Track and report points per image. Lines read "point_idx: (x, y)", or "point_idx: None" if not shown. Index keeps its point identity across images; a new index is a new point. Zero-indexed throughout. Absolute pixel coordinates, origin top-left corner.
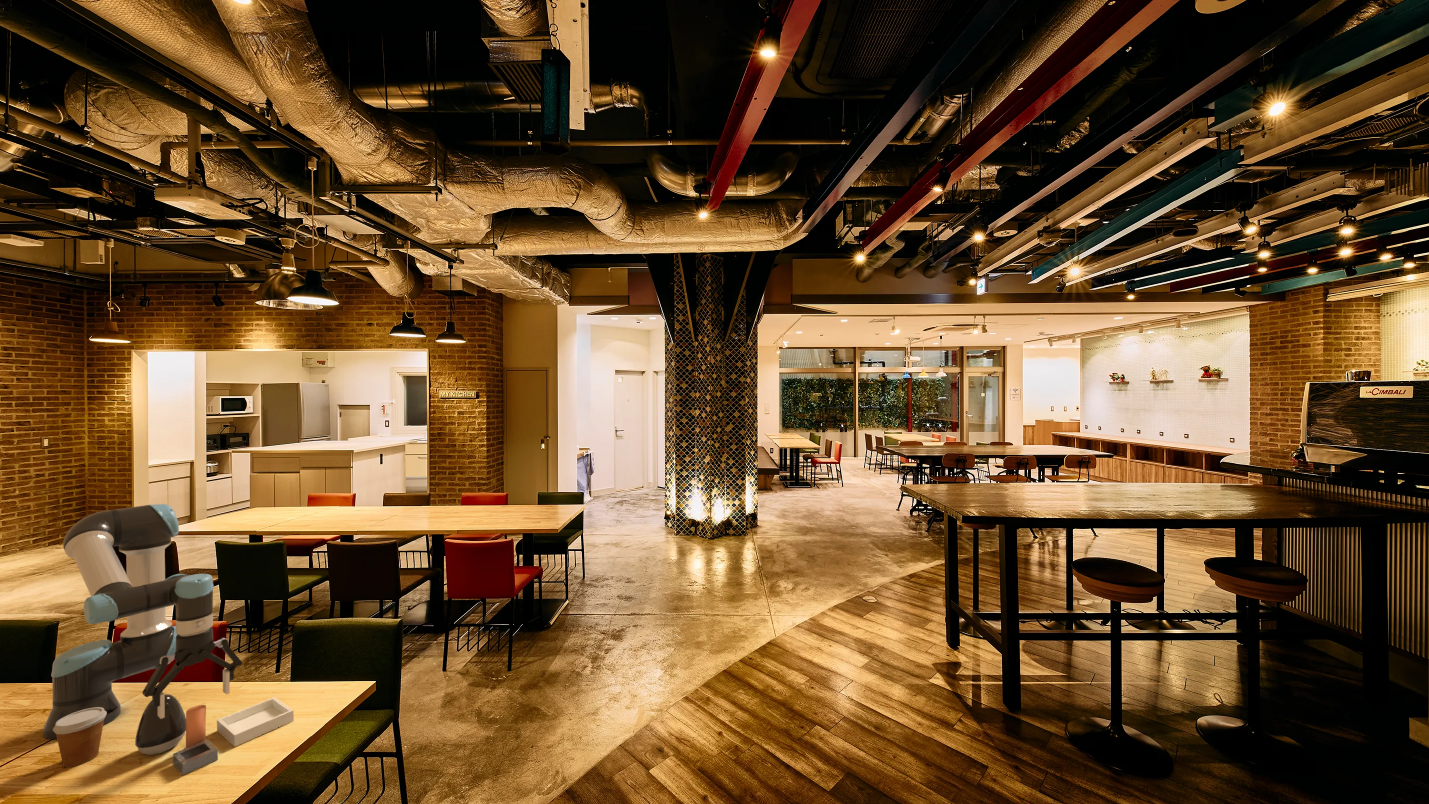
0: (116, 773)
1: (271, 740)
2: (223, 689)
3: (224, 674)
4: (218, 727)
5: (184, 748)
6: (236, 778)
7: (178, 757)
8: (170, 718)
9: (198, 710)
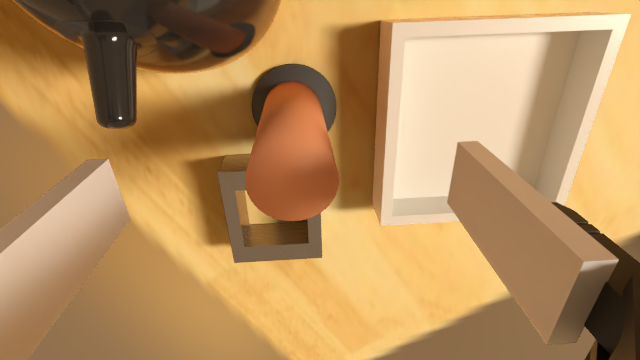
0: (67, 42)
1: (440, 250)
2: (464, 163)
3: (539, 275)
4: (384, 42)
5: (264, 80)
6: (324, 338)
7: (229, 214)
8: (184, 68)
9: (296, 212)
